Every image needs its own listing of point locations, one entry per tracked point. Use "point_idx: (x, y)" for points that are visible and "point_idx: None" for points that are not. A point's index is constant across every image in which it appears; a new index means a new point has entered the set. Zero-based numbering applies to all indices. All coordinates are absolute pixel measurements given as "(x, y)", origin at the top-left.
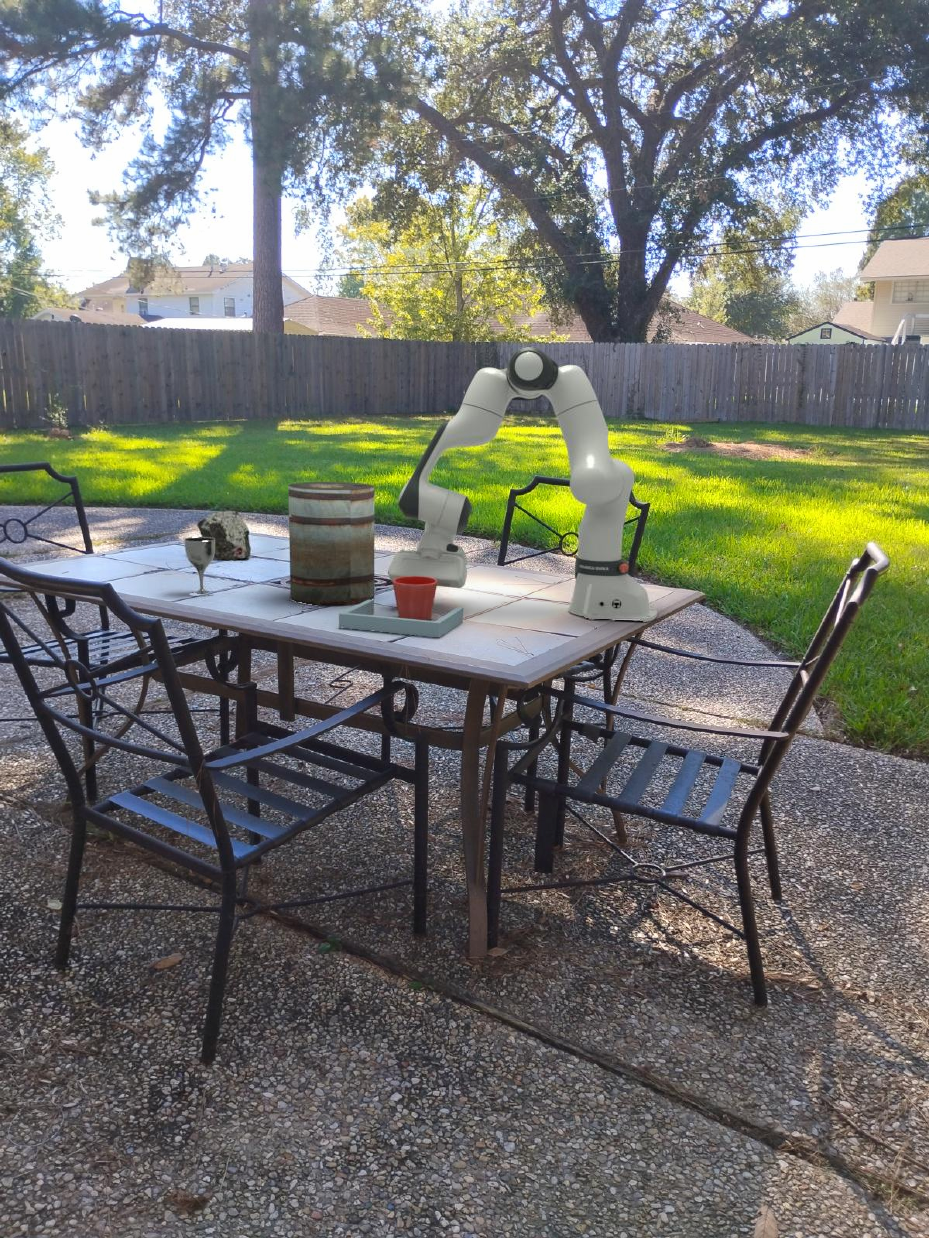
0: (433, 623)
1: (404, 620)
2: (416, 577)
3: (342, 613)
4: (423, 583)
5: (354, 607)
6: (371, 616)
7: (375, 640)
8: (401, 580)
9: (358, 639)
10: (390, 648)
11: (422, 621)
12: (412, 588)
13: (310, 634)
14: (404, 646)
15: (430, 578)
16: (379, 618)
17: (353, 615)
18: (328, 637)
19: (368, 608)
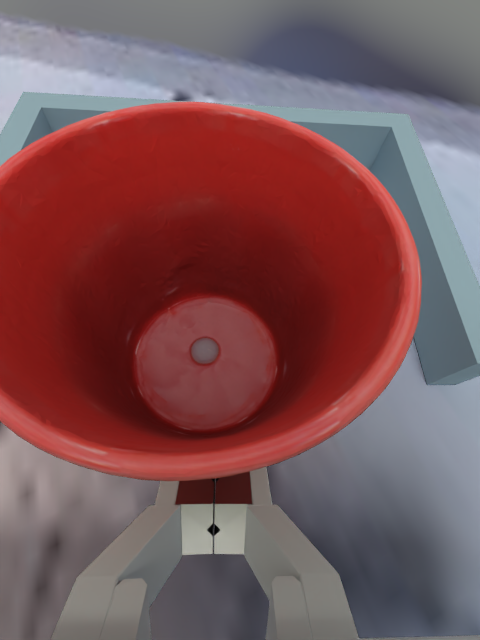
0: (48, 96)
1: (160, 101)
2: (255, 437)
3: (400, 118)
4: (160, 441)
5: (431, 195)
6: (288, 110)
7: (224, 98)
8: (376, 322)
9: (269, 96)
10: (163, 61)
11: (90, 97)
12: (167, 132)
13: (401, 104)
14: (135, 76)
15: (33, 413)
16: (255, 109)
17: (353, 112)
18: (345, 95)
19: (432, 307)
